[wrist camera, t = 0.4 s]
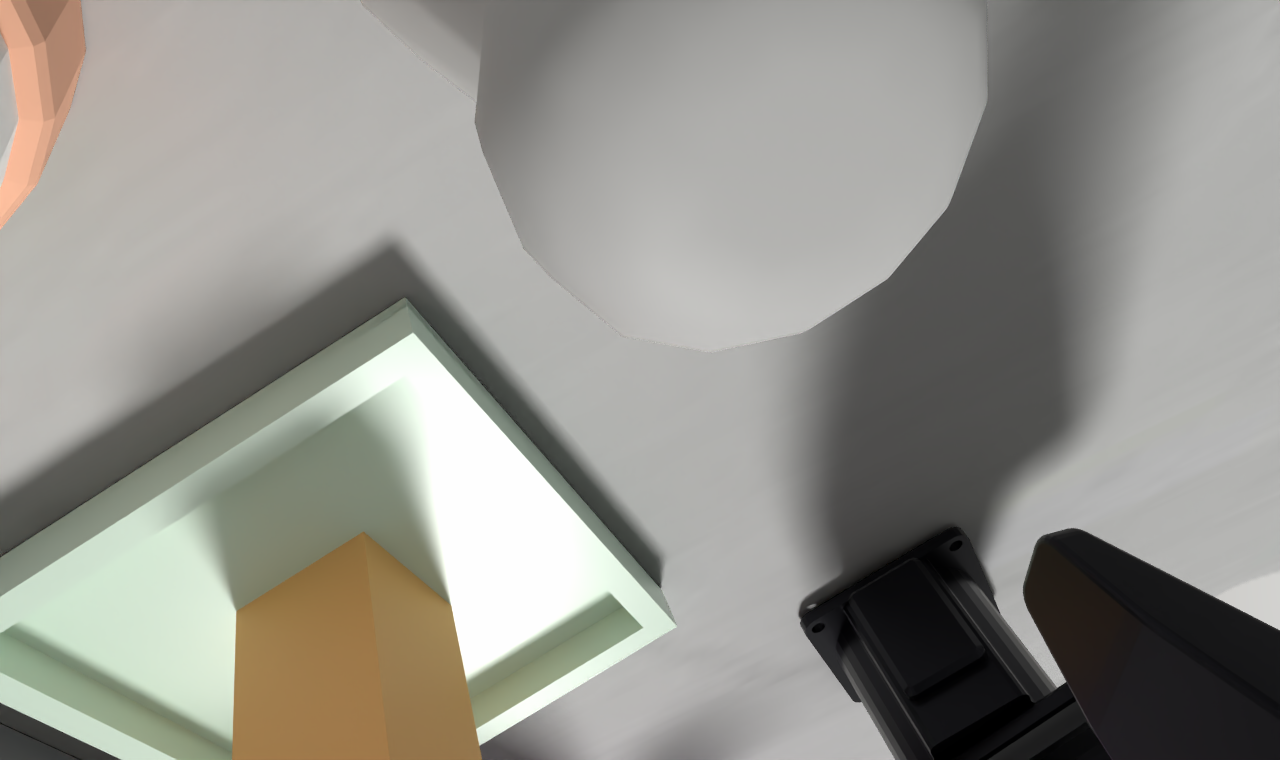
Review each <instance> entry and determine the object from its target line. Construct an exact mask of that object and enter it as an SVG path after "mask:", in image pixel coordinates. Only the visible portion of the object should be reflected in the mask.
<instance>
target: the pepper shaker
mask: <svg viewBox="0 0 1280 760" xmlns="http://www.w3.org/2000/svg"><path fill="white" fill-rule="evenodd" d="M85 52H86V47H85V38H84V29H83V19H82V10H81V1H80V0H0V229H1V228H2V227H3V226H4V225H5V223H6V222H7V221H8V220H9V218H10V217H11V216H12V215H13V213H14V212H15V211H16V210H17V208H18V207H19V206H20V205H21V203H22V202H23V201H24V200H25V198H26V197H27V196H28V195H29V193H30V192H31V191H32V190H33V189H34V187H35V186H36V185H37V184H38V181H39V179H40V177H41V174H42V172H43V170H44V167H45V165H46V163H47V161H48V158H49V156H50V154H51V151H52V149H53V147H54V144H55V142H56V140H57V138H58V135H59V133H60V131H61V128H62V126H63V124H64V121H65V119H66V117H67V115H68V112H69V110H70V107H71V103H72V100H73V96H74V92H75V89H76V85H77V81H78V78H79V74H80V70H81V67H82V63H83V59H84V56H85Z"/></svg>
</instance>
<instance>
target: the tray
mask: <svg viewBox="0 0 1280 760" xmlns="http://www.w3.org/2000/svg"><path fill="white" fill-rule="evenodd" d="M362 532H365V533H366V534H367V535H368V536H369V537H371V538H372V539H373V540H374V541H375V542H377V543H378V544H379V545H380V546H381V547H382V548H384V549H385V550H386V551H387V552H388V553H390V554H391V555H392V556H393V557H394V558H396V559H397V560H398V561H399V562H400V563H402V564H403V565H404V566H405V567H406V568H408V569H409V570H410V571H411V572H412V573H413V574H415V575H416V576H417V577H418V578H419V579H421V580H422V581H423V582H424V583H425V584H427V585H428V586H429V587H430V588H431V589H433V590H434V591H435V592H436V593H437V594H438V595H440V596H441V597H442V598H443V599H444V600H446V601H447V602H448V603H449V604H450V605H451V606H452V611H453V616H454V621H455V626H456V631H457V636H458V641H459V646H460V651H461V656H462V661H463V666H464V671H465V676H466V681H467V686H468V691H469V696H470V701H471V706H472V711H473V716H474V721H475V726H476V731H477V736H478V741H479V746H480V745H482V744H483V743H485V742H487V741H488V740H490V739H492V738H493V737H495V736H497V735H498V734H500V733H502V732H503V731H505V730H507V729H508V728H510V727H511V726H513V725H515V724H516V723H518V722H520V721H521V720H523V719H525V718H526V717H528V716H530V715H531V714H533V713H535V712H536V711H538V710H540V709H541V708H543V707H545V706H546V705H548V704H550V703H551V702H553V701H555V700H556V699H558V698H560V697H561V696H563V695H564V694H566V693H568V692H569V691H571V690H573V689H574V688H576V687H578V686H579V685H581V684H583V683H584V682H586V681H588V680H589V679H591V678H593V677H594V676H596V675H598V674H599V673H601V672H603V671H604V670H606V669H608V668H609V667H611V666H613V665H614V664H616V663H617V662H619V661H621V660H622V659H624V658H626V657H627V656H629V655H631V654H632V653H634V652H636V651H637V650H639V649H641V648H642V647H644V646H646V645H647V644H649V643H651V642H652V641H654V640H656V639H657V638H659V637H661V636H662V635H664V634H666V633H667V632H669V631H670V630H672V629H674V628H675V627H677V625H676V622H675V620H674V618H673V615H672V613H671V611H670V608H669V606H668V604H667V601H666V599H665V597H664V594H663V592H662V590H661V589H660V588H659V586H658V585H657V584H656V583H655V582H654V581H653V580H652V578H651V577H650V576H649V575H648V574H647V573H646V572H645V570H644V569H643V568H642V567H641V566H640V565H639V564H638V562H637V561H636V560H635V559H634V558H633V557H632V556H631V554H630V553H629V552H628V551H627V550H626V549H625V548H624V546H623V545H622V544H621V543H620V542H619V541H618V540H617V538H616V537H615V536H614V535H613V534H612V533H611V532H610V530H609V529H608V528H607V527H606V526H605V525H604V524H603V522H602V521H601V520H600V519H599V518H598V517H597V516H596V514H595V513H594V512H593V511H592V510H591V509H590V508H589V506H588V505H587V504H586V503H585V502H584V501H583V500H582V498H581V497H580V496H579V495H578V494H577V493H576V492H575V490H574V489H573V488H572V487H571V486H570V485H569V484H568V482H567V481H566V480H565V479H564V478H563V477H562V476H561V474H560V473H559V472H558V471H557V470H556V469H555V468H554V466H553V465H552V464H551V463H550V462H549V461H548V460H547V458H546V457H545V456H544V455H543V454H542V453H541V452H540V450H539V449H538V448H537V447H536V446H535V445H534V444H533V442H532V441H531V440H530V439H529V438H528V437H527V436H526V434H525V433H524V432H523V431H522V430H521V429H520V428H519V426H518V425H517V424H516V423H515V422H514V421H513V420H512V419H511V417H510V416H509V415H508V414H507V413H506V412H505V411H504V409H503V408H502V407H501V406H500V405H499V404H498V403H497V401H496V400H495V399H494V398H493V397H492V396H491V395H490V393H489V392H488V391H487V390H486V389H485V388H484V387H483V385H482V384H481V383H480V382H479V381H478V380H477V379H476V377H475V376H474V375H473V374H472V373H471V372H470V371H469V369H468V368H467V367H466V366H465V365H464V364H463V363H462V361H461V360H460V359H459V358H458V357H457V356H456V355H455V353H454V352H453V351H452V350H451V349H450V348H449V347H448V345H447V344H446V343H445V342H444V341H443V340H442V339H441V337H440V336H439V335H438V334H437V333H436V332H435V331H434V329H433V328H432V327H431V326H430V325H429V324H428V323H427V321H426V320H425V319H424V318H423V317H422V316H421V315H420V313H419V312H418V311H417V310H416V309H415V308H414V307H413V305H412V304H411V303H410V302H409V301H408V300H407V299H406V297H405V298H403V299H401V300H400V301H398V302H397V303H395V304H394V305H392V306H391V307H389V308H387V309H386V310H384V311H383V312H381V313H380V314H378V315H377V316H375V317H373V318H372V319H370V320H369V321H367V322H366V323H364V324H363V325H361V326H359V327H358V328H356V329H355V330H353V331H352V332H350V333H349V334H347V335H345V336H344V337H342V338H341V339H339V340H338V341H336V342H335V343H333V344H331V345H330V346H328V347H327V348H325V349H324V350H322V351H321V352H319V353H317V354H316V355H314V356H313V357H311V358H310V359H308V360H307V361H305V362H303V363H302V364H300V365H299V366H297V367H296V368H294V369H293V370H291V371H289V372H288V373H286V374H285V375H283V376H282V377H280V378H279V379H277V380H275V381H274V382H272V383H271V384H269V385H268V386H266V387H265V388H263V389H261V390H260V391H258V392H257V393H255V394H254V395H252V396H251V397H249V398H247V399H246V400H244V401H243V402H241V403H240V404H238V405H237V406H235V407H233V408H232V409H230V410H229V411H227V412H226V413H224V414H223V415H221V416H219V417H218V418H216V419H215V420H213V421H212V422H210V423H209V424H207V425H205V426H204V427H202V428H201V429H199V430H198V431H196V432H195V433H193V434H191V435H190V436H188V437H187V438H185V439H184V440H182V441H181V442H179V443H177V444H176V445H174V446H173V447H171V448H170V449H168V450H167V451H165V452H163V453H162V454H160V455H159V456H157V457H156V458H154V459H153V460H151V461H149V462H148V463H146V464H145V465H143V466H142V467H140V468H139V469H137V470H135V471H134V472H132V473H131V474H129V475H128V476H126V477H125V478H123V479H121V480H120V481H118V482H117V483H115V484H114V485H112V486H111V487H109V488H107V489H106V490H104V491H103V492H101V493H100V494H98V495H97V496H95V497H93V498H92V499H90V500H89V501H87V502H86V503H84V504H83V505H81V506H79V507H78V508H76V509H75V510H73V511H72V512H70V513H69V514H67V515H65V516H64V517H62V518H61V519H59V520H58V521H56V522H55V523H53V524H51V525H50V526H48V527H47V528H45V529H44V530H42V531H41V532H39V533H37V534H36V535H34V536H33V537H31V538H30V539H28V540H27V541H25V542H23V543H22V544H20V545H19V546H17V547H16V548H14V549H13V550H11V551H9V552H8V553H6V554H5V555H3V556H2V557H0V703H2V704H4V705H6V706H8V707H10V708H13V709H15V710H17V711H19V712H21V713H23V714H25V715H27V716H30V717H32V718H34V719H36V720H38V721H40V722H42V723H44V724H47V725H49V726H51V727H53V728H55V729H57V730H59V731H61V732H64V733H66V734H68V735H70V736H72V737H74V738H76V739H78V740H81V741H83V742H85V743H87V744H89V745H91V746H93V747H95V748H97V749H100V750H102V751H104V752H106V753H108V754H110V755H112V756H114V757H117V758H119V759H121V760H232V743H233V708H234V673H235V638H236V611H237V610H239V609H241V608H242V607H244V606H245V605H247V604H249V603H250V602H252V601H253V600H255V599H257V598H258V597H260V596H261V595H263V594H265V593H266V592H268V591H269V590H271V589H273V588H274V587H276V586H277V585H279V584H281V583H282V582H284V581H285V580H287V579H289V578H290V577H292V576H293V575H295V574H297V573H298V572H300V571H301V570H303V569H305V568H306V567H308V566H309V565H311V564H313V563H314V562H316V561H317V560H319V559H321V558H322V557H324V556H325V555H327V554H328V553H330V552H332V551H333V550H335V549H336V548H338V547H340V546H341V545H343V544H344V543H346V542H348V541H349V540H351V539H352V538H354V537H356V536H357V535H359V534H360V533H362Z"/></svg>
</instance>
